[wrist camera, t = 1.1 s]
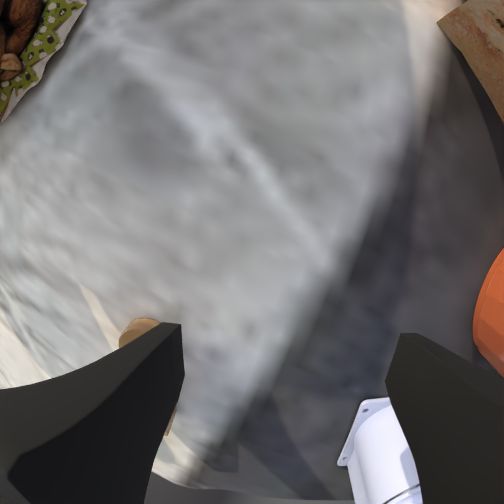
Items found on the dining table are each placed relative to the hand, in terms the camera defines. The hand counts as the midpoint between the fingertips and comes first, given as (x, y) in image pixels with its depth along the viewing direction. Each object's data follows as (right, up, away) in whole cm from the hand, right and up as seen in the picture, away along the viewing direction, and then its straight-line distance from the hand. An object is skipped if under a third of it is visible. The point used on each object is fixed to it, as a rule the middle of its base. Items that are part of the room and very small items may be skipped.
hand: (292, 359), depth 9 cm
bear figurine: (-20, +21, +4) cm, 30 cm away
